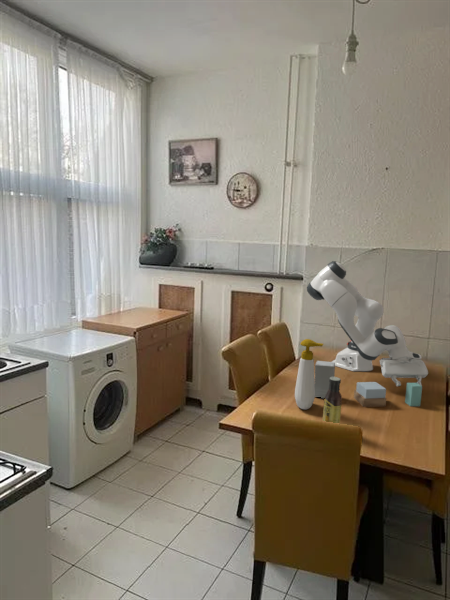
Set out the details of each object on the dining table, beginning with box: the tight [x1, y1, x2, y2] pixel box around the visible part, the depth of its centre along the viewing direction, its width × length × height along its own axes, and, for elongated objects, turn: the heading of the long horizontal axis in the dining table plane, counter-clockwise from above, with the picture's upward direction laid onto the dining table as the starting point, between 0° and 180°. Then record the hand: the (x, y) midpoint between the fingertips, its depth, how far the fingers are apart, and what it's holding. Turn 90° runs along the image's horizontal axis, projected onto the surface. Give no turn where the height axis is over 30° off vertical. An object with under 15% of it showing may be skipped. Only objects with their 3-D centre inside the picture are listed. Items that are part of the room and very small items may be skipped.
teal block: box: [404, 382, 423, 407], centre depth 190 cm, size 4×4×9 cm
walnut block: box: [353, 389, 387, 408], centre depth 191 cm, size 10×10×4 cm
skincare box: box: [314, 360, 336, 399], centre depth 195 cm, size 8×7×16 cm
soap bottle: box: [294, 338, 324, 410], centre depth 181 cm, size 13×10×29 cm
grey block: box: [355, 381, 387, 398], centre depth 190 cm, size 9×9×4 cm
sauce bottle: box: [322, 376, 343, 423], centre depth 161 cm, size 6×6×20 cm
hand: (409, 385), depth 192 cm, fingers open, 8 cm apart
